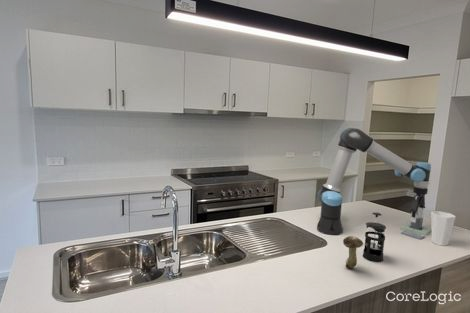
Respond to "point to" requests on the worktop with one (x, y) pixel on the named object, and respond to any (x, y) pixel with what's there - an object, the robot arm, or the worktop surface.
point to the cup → (441, 227)
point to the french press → (372, 246)
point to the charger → (417, 223)
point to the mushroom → (352, 250)
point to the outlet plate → (424, 230)
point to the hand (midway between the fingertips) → (416, 219)
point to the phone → (412, 235)
